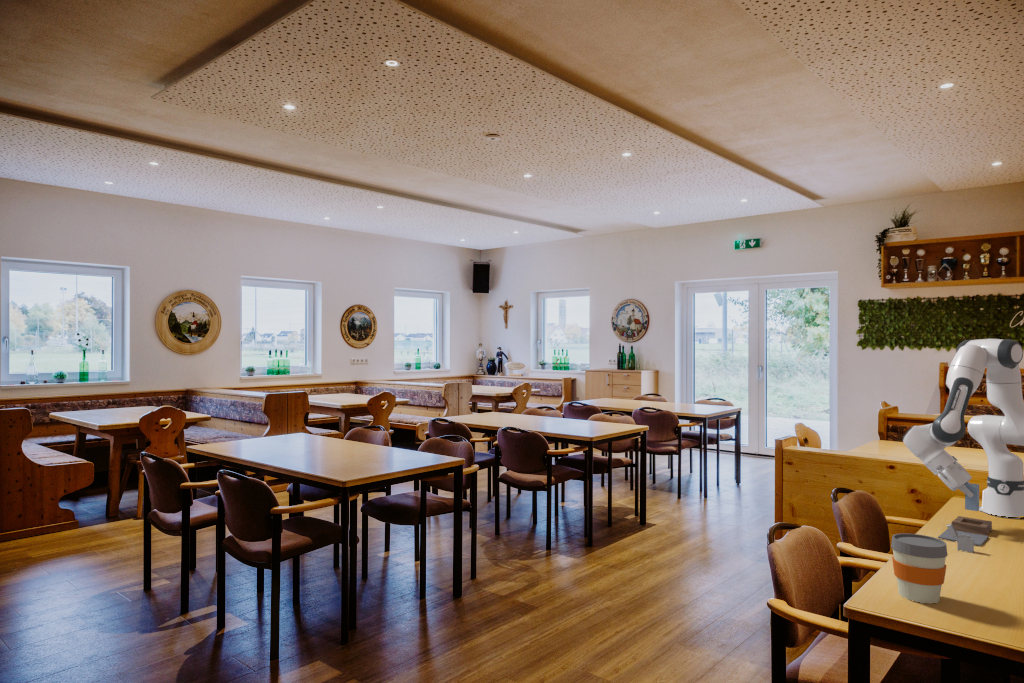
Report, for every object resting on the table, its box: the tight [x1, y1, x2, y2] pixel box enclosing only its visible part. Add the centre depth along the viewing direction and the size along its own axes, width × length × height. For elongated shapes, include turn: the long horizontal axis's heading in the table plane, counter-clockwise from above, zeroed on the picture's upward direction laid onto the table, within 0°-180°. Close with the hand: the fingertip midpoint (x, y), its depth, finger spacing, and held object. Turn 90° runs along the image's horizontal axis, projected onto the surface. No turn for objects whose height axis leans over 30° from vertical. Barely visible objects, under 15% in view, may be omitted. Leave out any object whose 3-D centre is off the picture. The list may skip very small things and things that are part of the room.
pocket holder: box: [951, 515, 993, 536], centre depth 231 cm, size 12×10×3 cm
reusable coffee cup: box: [890, 533, 948, 605], centre depth 167 cm, size 12×13×15 cm
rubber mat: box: [937, 528, 989, 547], centre depth 220 cm, size 14×12×1 cm
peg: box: [964, 482, 980, 512], centre depth 231 cm, size 4×4×9 cm
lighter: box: [946, 523, 975, 554], centre depth 207 cm, size 7×2×8 cm, turn 45°
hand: (974, 495), depth 230 cm, fingers closed on peg, 4 cm apart
